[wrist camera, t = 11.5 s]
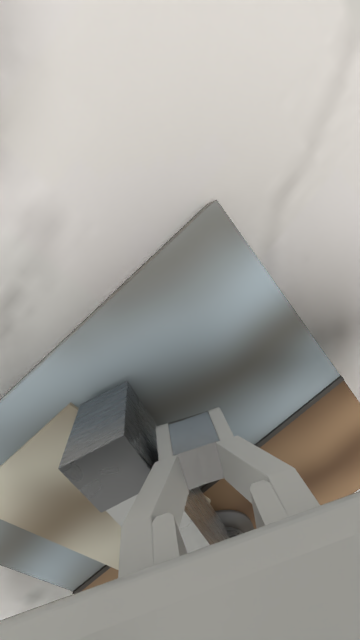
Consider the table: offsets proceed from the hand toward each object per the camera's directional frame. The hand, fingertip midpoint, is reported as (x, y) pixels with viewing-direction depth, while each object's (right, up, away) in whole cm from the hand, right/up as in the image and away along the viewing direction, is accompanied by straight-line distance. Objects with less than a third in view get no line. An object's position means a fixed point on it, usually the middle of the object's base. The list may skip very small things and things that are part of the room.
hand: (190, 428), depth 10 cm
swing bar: (-1, -5, +3) cm, 5 cm away
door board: (0, -4, +4) cm, 6 cm away
